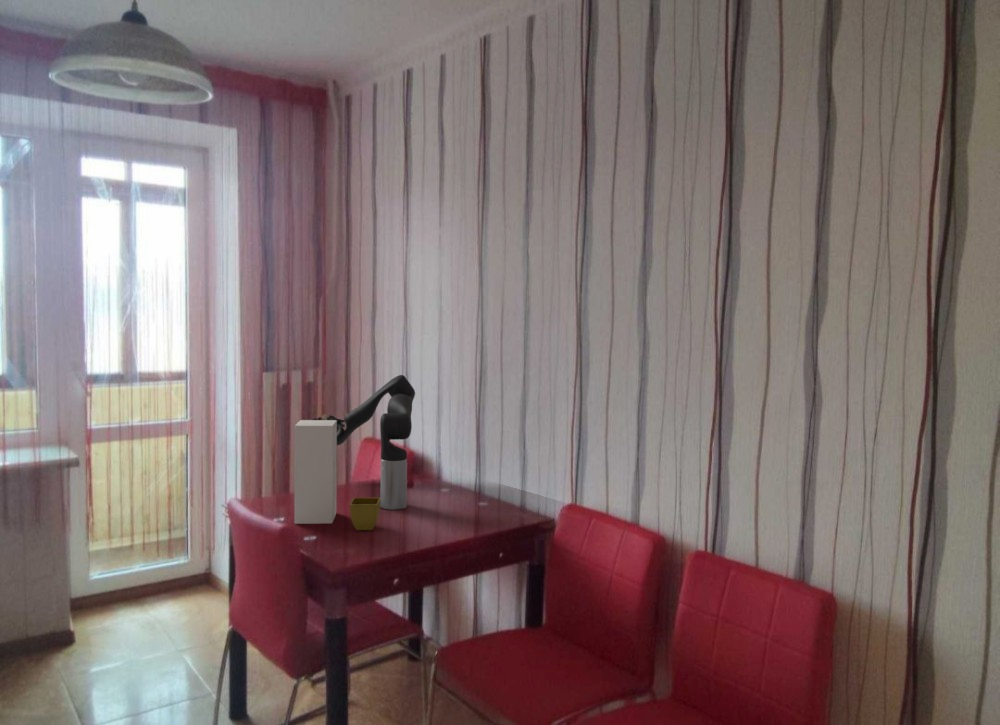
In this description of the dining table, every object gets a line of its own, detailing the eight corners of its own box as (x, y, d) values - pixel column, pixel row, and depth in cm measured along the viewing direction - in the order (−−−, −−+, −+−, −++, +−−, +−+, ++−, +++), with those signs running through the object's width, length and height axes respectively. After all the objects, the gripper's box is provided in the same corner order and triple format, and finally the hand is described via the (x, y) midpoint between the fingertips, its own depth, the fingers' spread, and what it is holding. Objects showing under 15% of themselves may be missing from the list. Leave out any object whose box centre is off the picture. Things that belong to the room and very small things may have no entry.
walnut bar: (329, 420, 278) (329, 414, 277) (321, 444, 257) (321, 437, 256) (323, 420, 278) (323, 414, 277) (314, 444, 257) (313, 437, 256)
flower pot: (348, 532, 234) (349, 504, 234) (353, 524, 243) (353, 497, 242) (377, 532, 235) (377, 504, 234) (380, 524, 243) (381, 497, 243)
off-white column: (336, 513, 256) (336, 420, 253) (332, 523, 244) (332, 425, 241) (300, 513, 254) (300, 420, 252) (294, 523, 242) (294, 425, 240)
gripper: (348, 436, 287) (342, 430, 271) (311, 436, 286) (303, 430, 269) (348, 416, 289) (343, 409, 272) (312, 416, 288) (304, 409, 271)
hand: (323, 420), depth 271 cm, fingers closed on walnut bar, 2 cm apart
